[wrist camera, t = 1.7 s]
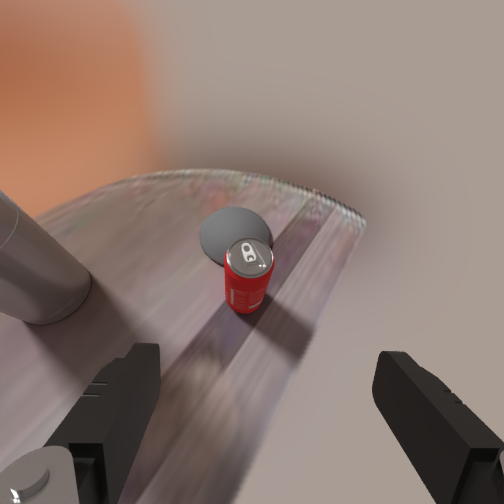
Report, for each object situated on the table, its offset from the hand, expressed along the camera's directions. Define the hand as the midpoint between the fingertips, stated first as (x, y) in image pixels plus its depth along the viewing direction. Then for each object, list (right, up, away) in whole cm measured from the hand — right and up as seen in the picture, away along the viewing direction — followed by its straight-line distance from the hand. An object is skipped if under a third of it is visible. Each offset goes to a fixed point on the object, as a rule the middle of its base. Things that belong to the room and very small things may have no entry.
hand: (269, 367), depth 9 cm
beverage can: (-2, -2, +27) cm, 27 cm away
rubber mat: (-3, +7, +32) cm, 33 cm away
